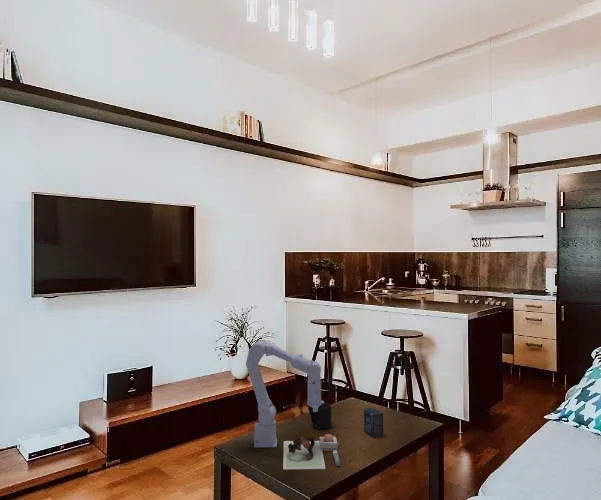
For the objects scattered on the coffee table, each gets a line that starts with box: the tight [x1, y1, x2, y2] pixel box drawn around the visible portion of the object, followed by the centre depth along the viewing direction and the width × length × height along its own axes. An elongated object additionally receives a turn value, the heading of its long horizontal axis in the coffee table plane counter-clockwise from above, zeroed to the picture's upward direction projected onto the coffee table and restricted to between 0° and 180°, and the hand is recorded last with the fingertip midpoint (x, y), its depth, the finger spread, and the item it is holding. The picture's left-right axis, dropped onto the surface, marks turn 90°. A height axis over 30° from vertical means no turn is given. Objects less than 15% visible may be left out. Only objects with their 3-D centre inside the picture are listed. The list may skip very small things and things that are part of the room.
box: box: [363, 407, 384, 438], centre depth 204 cm, size 8×6×11 cm
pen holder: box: [312, 401, 332, 430], centre depth 213 cm, size 9×9×10 cm
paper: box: [282, 440, 326, 471], centre depth 182 cm, size 16×26×1 cm, turn 2°
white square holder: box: [319, 436, 338, 452], centre depth 189 cm, size 7×7×3 cm
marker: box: [332, 450, 341, 467], centre depth 176 cm, size 2×10×2 cm, turn 2°
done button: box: [323, 433, 334, 442], centre depth 189 cm, size 4×4×3 cm
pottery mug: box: [288, 436, 316, 461], centre depth 181 cm, size 12×10×8 cm
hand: (314, 423), depth 190 cm, fingers closed
